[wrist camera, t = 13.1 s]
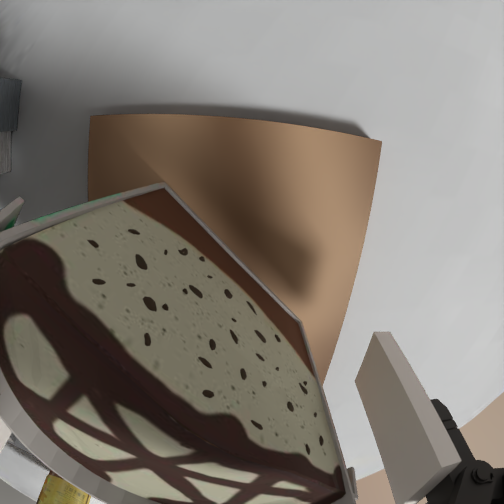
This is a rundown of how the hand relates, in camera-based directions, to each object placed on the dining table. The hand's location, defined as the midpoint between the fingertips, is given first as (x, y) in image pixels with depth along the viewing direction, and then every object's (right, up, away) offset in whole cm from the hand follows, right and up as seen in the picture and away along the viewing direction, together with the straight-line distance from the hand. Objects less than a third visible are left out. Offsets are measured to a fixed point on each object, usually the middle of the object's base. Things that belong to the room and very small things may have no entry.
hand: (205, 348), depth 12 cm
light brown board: (0, +2, +5) cm, 5 cm away
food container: (-1, +2, +3) cm, 4 cm away
